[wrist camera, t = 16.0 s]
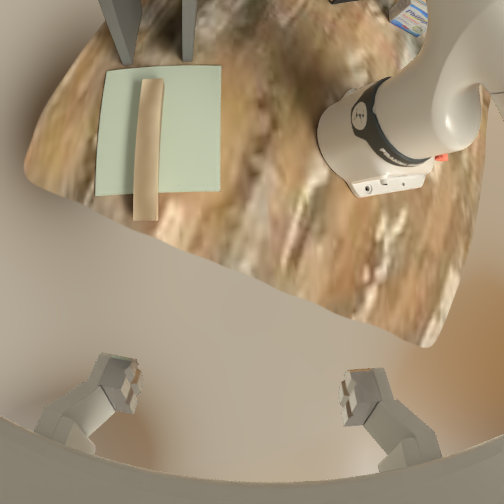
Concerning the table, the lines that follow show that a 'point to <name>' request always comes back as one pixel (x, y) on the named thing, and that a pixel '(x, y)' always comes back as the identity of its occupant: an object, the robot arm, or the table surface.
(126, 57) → the stand
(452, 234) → the table surface
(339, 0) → the ammunition clip
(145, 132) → the beech bar
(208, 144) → the mat
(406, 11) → the medicine box
